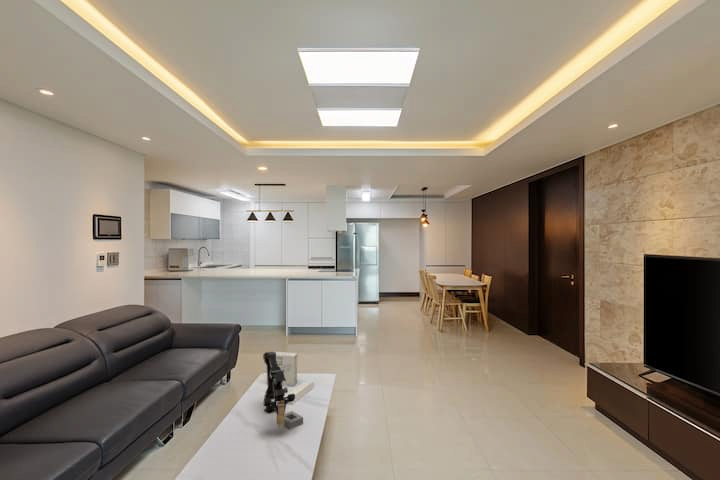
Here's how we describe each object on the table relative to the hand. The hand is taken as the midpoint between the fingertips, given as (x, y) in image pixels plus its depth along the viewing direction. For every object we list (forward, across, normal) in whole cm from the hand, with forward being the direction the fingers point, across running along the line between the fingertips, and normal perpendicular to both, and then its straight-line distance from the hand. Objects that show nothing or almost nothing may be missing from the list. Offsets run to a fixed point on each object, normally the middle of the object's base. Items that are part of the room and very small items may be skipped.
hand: (281, 414), depth 210 cm
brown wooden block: (+4, 0, +6) cm, 7 cm away
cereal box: (-45, +18, +64) cm, 80 cm away
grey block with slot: (0, +9, +18) cm, 20 cm away
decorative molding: (-28, +24, +47) cm, 60 cm away
